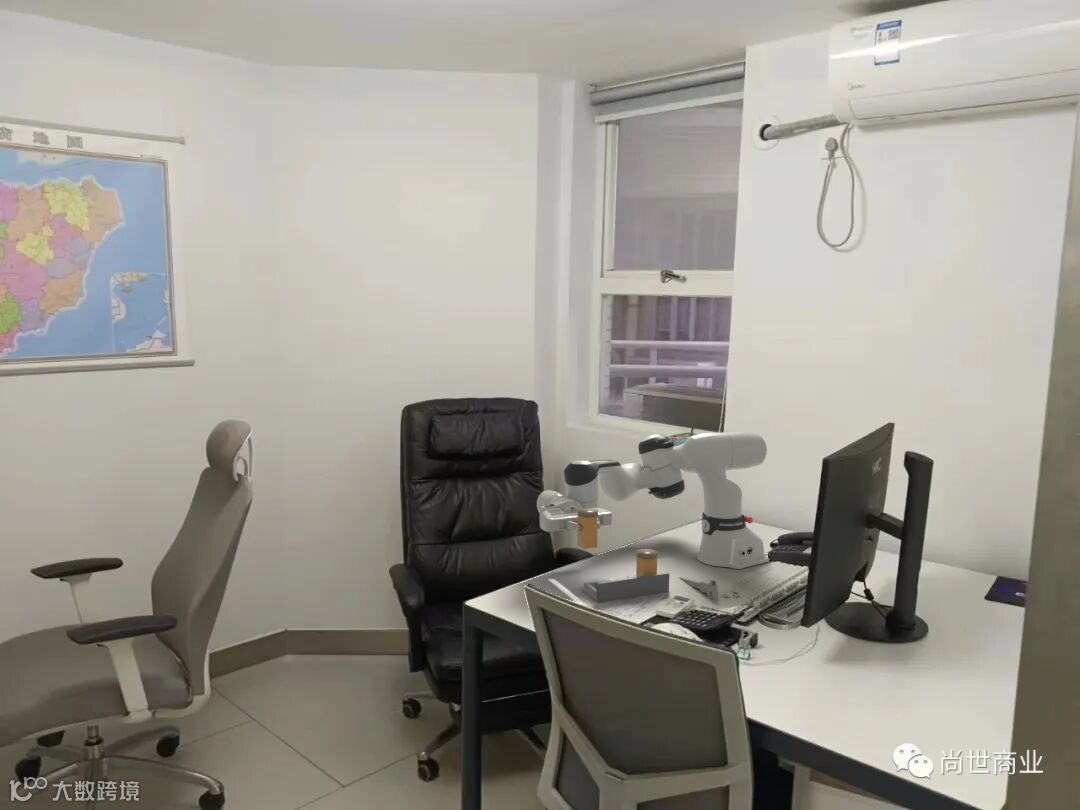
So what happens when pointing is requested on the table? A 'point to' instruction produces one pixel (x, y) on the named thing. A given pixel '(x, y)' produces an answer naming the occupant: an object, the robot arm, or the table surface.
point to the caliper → (704, 587)
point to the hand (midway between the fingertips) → (588, 527)
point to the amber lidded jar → (587, 528)
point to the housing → (627, 587)
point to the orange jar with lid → (646, 562)
